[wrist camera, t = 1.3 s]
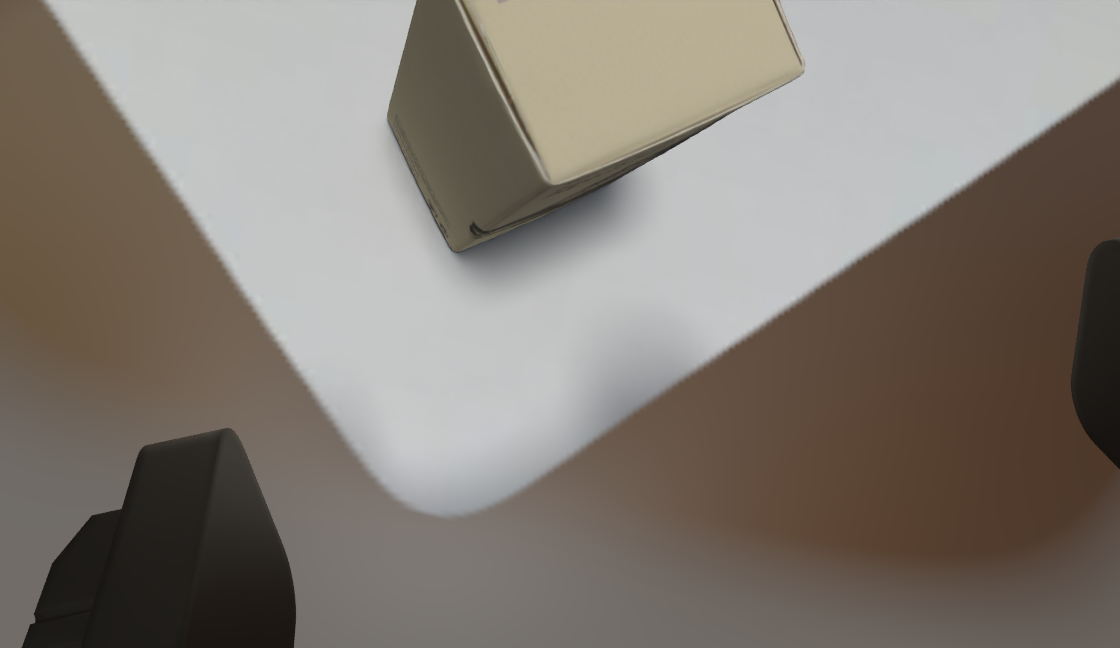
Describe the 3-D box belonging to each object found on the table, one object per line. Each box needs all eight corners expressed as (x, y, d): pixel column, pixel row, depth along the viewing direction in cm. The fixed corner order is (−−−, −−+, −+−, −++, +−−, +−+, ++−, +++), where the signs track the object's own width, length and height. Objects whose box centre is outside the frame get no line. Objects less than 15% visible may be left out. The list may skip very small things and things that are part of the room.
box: (451, 258, 29) (531, 208, 16) (381, 110, 28) (408, -62, 16) (620, 181, 30) (822, 75, 17) (555, 36, 29) (713, -182, 17)
